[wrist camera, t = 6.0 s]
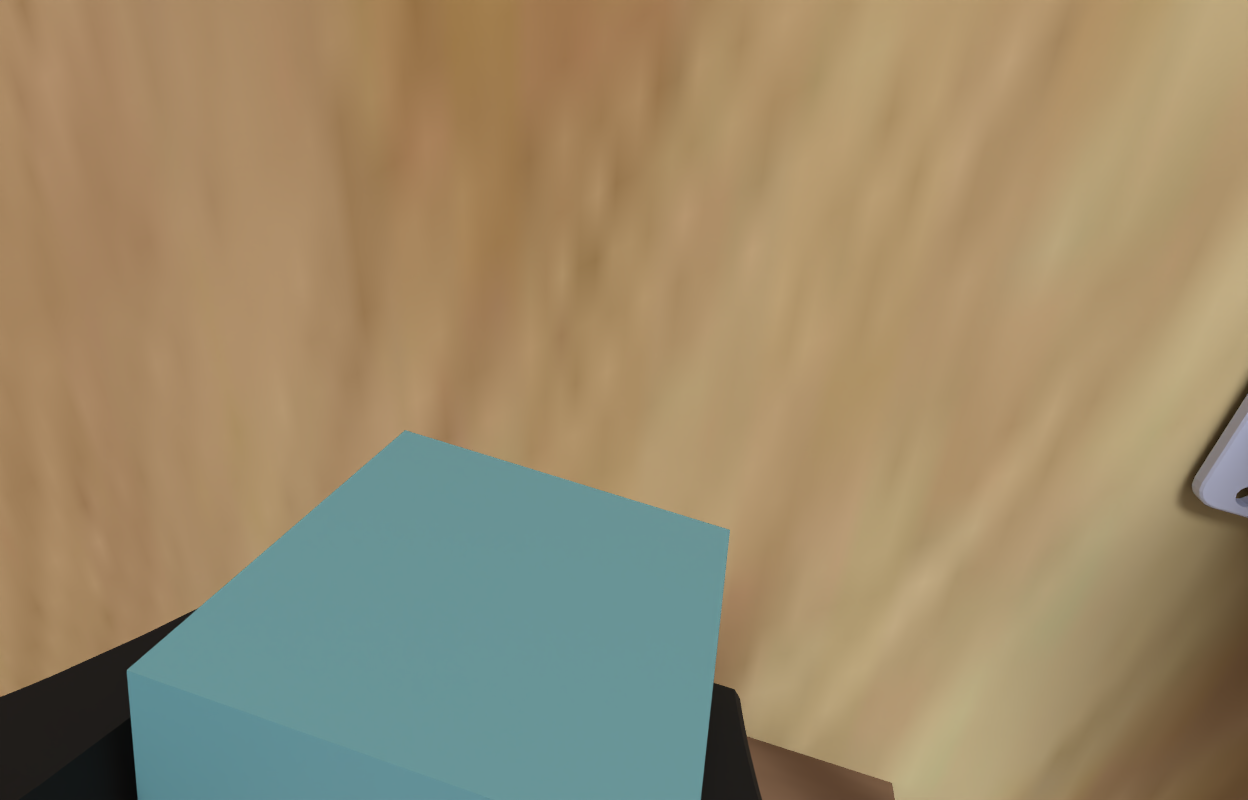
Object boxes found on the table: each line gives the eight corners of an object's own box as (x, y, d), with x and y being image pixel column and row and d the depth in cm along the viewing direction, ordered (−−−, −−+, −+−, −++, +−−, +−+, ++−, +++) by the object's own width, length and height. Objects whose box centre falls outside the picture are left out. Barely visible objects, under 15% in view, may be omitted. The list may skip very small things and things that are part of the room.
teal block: (729, 529, 10) (692, 869, 6) (647, 766, 12) (571, 1155, 8) (404, 430, 11) (126, 670, 6) (378, 674, 13) (154, 990, 8)
